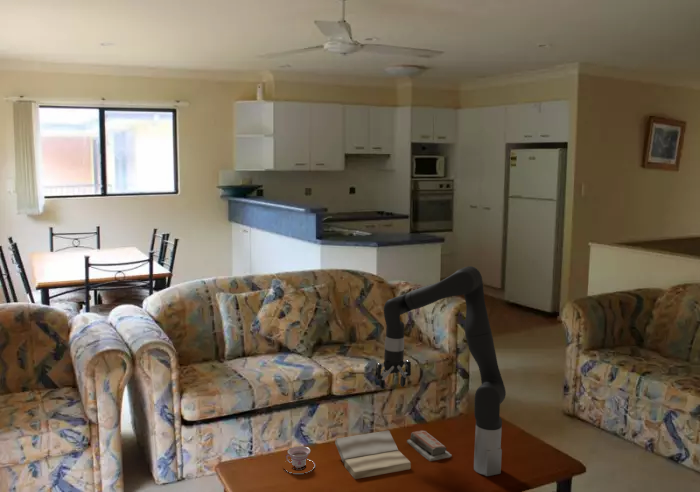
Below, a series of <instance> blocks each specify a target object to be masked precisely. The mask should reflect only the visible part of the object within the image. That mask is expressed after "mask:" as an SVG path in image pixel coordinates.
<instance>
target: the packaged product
mask: <svg viewBox="0 0 700 492" xmlns="http://www.w3.org/2000/svg"><path fill="white" fill-rule="evenodd" d="M406 443H407V444H409V445H410V447H412V449H414V450H415V451H416V452H417V453H418V454H420V455H421V456H422V457H424V459H426V460H427V461H429V462H433V461H439V460H443V459H449V458H451V457H452V455H453V454H451V453H450V451H447V447H446V445H444V444H443V443H441V442H440V441H439V440H438V439H436V438H435V437H434V436H433V435H431V434H430V433H428V432H427V430H423V429H421V430H417V431H412V432H411V433H410V438H409V439H407V440H406Z"/></svg>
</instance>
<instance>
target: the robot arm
mask: <svg viewBox="0 0 700 492" xmlns="http://www.w3.org/2000/svg"><path fill="white" fill-rule="evenodd" d="M461 295H462V296H463V297H464V300H465V307H466V308H465V310H466V311H465V312H466V313H465V322H464V323H465V324H464V333H465V339H466V343H467V348H468V350H469V352H470V355H471V356H472V358H473V360H474V361H475V362H476V364H477V368H478V369H479V374H480V380H481V381H480V382H481V384H480V386H479V387H477V389H476V390H475V395H474V413H473V414H474V419H475V433H474V455H473V471H475V472H476V473H478V474H480V475H483V476H485V477H491V476H494V475H495V476H496V475H500V474H502V473H501V471H502V470H501V469H502V453H503V450H502V448H501V447H502V444H501V443H502V428H503V427H502V425H503V420H502V419H503V418H502V417H501V416H500V415H501V413H500V411H501V410H500V408H501V405H502V404H501V403H503V402H504V400H505V398H506V394H507V393H506V387H505V383H504V380H503V378H502V375H501V371H500V368H499V364H498V359H497V353H496V349H495V343H494V339H493V332H492V328H491V326H490V320H489V315H488V311H487V305H486V301H485V293H484V281H483V277H482V274H481V272H480V270H479V269H478V268H476V267H475V266H469V265H468V266H464V267H462V268H459V269H457V270H456V271H455V272H453V273H452V274H450V275H449V276H447V277H446V278H444V279H441V280H439V281H437V282H435V283H432V284H426V285H424V286H421V287H418V288H417V289H413V290H411V291H409V292H407V293H404V294H402V295H398V296H396V297H392V298H389V299H388V300H386V302H385V303H384V306H383V316H384V320H385V327H386V329H385V340H384V355H383V359H384V361H383V362H376V363H375V364H376V367H375V373H374V374H375V376H374V377H375V378H376V379H377V380H379V384H378V385H379V386H378V387H380V389H382V390H384V389H385V383H386V382H385V381H386V380H385V379H386V378H387V377H388V376H389V374H390V375H391V374H398V373H399V374H400V383H399V385H400V387H402V388H404V387H405V386H406V383H407V382H406V381H407V377H410V376H411V374H412V365H411V363H412V362H411V361H410V360H408V359H405V360H404V356H405V324H404V322H403V321H401V315H403V314H404V315H405V314H406V313H408V312H411V311H412V310H417V309H421V308H424V307H426V306H428V305H429V306H430V305H432V304H434V303H436V302H438V301H440V300H442V299H446V298H450V297H451V298H452V297H455V296H456V297H457V296H461ZM403 366H404V369H405V371H404V370H403ZM383 367H384V368H383Z"/></svg>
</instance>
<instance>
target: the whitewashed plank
mask: <svg viewBox="0 0 700 492" xmlns="http://www.w3.org/2000/svg"><path fill="white" fill-rule="evenodd" d="M334 444H335V446H336V448H337V451H338V454H339V456H340V459H341V461H342V463H343V464H345V460H346V459H352V458H358V457H364V456H370V455H376V454H382V453H387V452H393V451H399V449H398V446H397V444H396V442H395V439H394V438H393V436H392V434H391V431H390V430H389V429H388V430H382V431H377V432H374V431H373V432H368V433H362V434H355V435H350V436H345V437H344V436H343V437H338V438H335V442H334Z"/></svg>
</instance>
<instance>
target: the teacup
mask: <svg viewBox="0 0 700 492" xmlns="http://www.w3.org/2000/svg"><path fill="white" fill-rule="evenodd" d="M311 451H312V450H311V449H310V447H308V446H302V445H299V446H298V445H297V446H293V447H291V448H289V449H288V450H287V454H286V455H285V459H286V461H288V462H289V463H292V465H293V467H294V466H295V467H296V468H295V467H294V468H295V469H298V468H300V469H302V468H301V467H303V468H304V466H305V465H306V459H307V460H309V461H312V462H313V464H314V467H313V469H314V468H315V469H316V463H315V462H314V461H313V460H311V459H309V458H308V456H309V455H310V453H311ZM288 457H290V458H291V460H292V461H291V462H290V461H289V460H290V459H289V458H288ZM313 469H312V470H313ZM315 469H314V470H315ZM312 470H310V471H311V472H313V471H314V470H313V471H312ZM286 471H287V470H286ZM286 471H285V472H286ZM310 471H308V472H309V473H311V472H310ZM308 472H305V473H306V474H308ZM286 473H288V471H287V472H286ZM291 473H292V472H289V473H288V474H291ZM293 475H305V474H304V473H293Z"/></svg>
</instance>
